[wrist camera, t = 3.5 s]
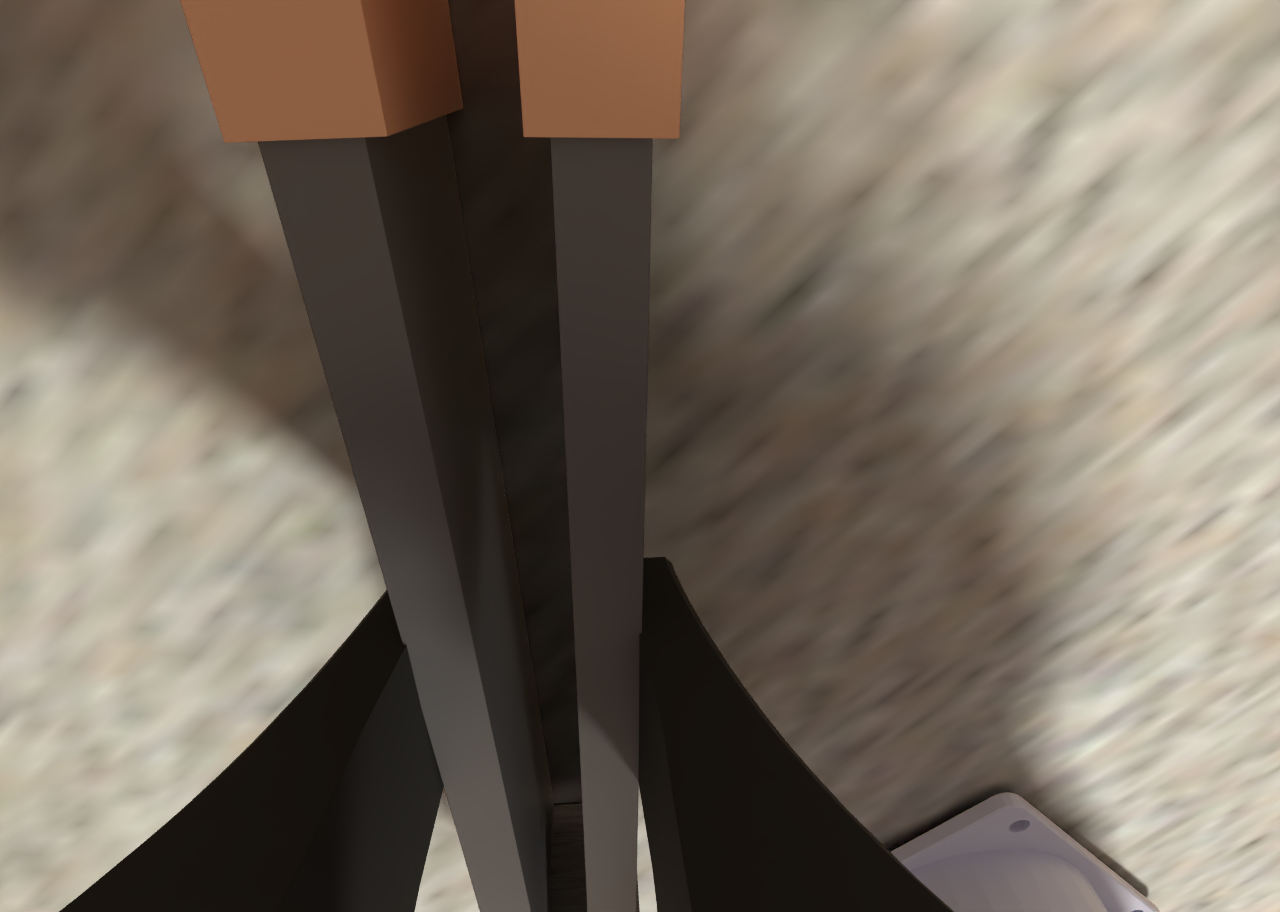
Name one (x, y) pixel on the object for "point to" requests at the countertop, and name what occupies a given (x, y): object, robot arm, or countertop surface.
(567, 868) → the tongs hub
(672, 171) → the countertop surface
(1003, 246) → the countertop surface
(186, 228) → the countertop surface
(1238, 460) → the countertop surface
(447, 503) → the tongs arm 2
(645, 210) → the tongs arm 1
